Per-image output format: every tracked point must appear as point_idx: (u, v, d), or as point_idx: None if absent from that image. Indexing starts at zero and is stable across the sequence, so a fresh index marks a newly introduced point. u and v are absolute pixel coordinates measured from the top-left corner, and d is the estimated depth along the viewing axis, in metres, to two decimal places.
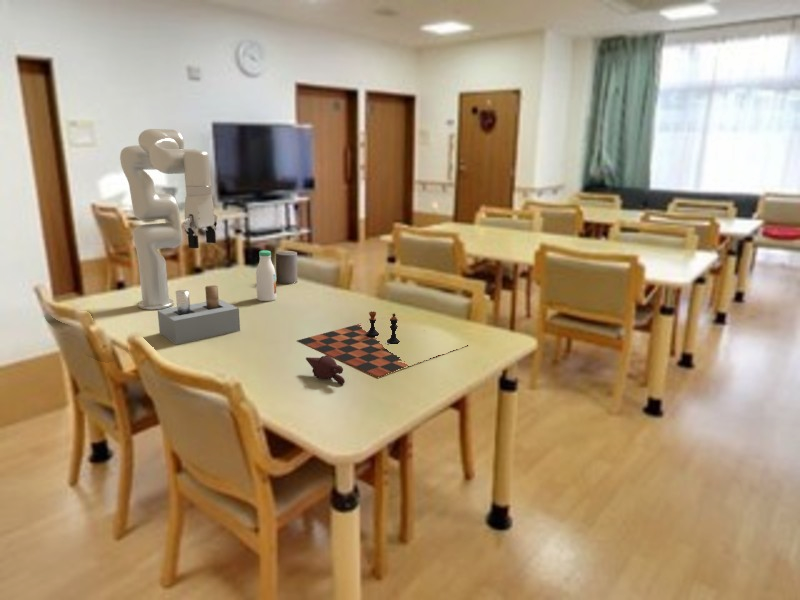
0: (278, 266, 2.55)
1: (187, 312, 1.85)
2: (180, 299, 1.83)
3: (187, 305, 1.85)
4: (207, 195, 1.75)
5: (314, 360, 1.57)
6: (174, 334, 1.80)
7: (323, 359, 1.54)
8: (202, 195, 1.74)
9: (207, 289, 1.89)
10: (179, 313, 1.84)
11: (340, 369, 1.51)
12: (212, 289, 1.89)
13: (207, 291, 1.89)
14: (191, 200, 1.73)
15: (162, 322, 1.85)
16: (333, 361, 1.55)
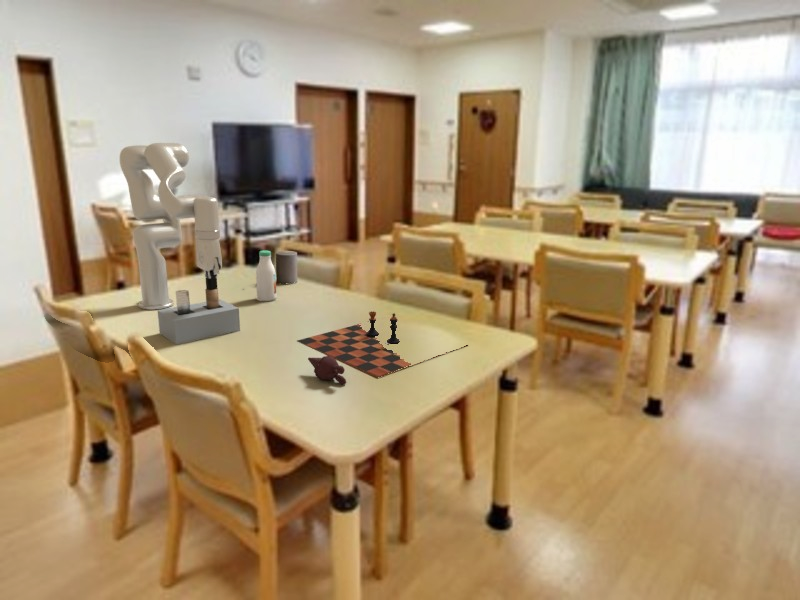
0: (278, 266, 2.55)
1: (187, 312, 1.85)
2: (180, 299, 1.83)
3: (187, 305, 1.85)
4: None
5: (316, 360, 1.57)
6: (174, 334, 1.80)
7: (325, 359, 1.54)
8: (219, 238, 1.86)
9: (207, 291, 1.89)
10: (179, 313, 1.84)
11: (341, 369, 1.51)
12: (212, 291, 1.89)
13: (207, 293, 1.90)
14: (215, 244, 1.83)
15: (162, 322, 1.85)
16: (335, 361, 1.55)
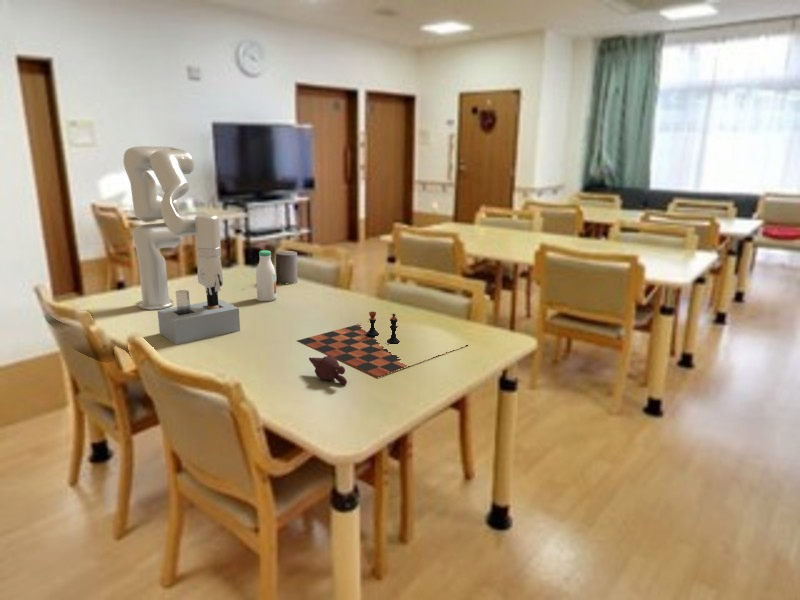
0: (278, 266, 2.55)
1: (187, 312, 1.85)
2: (180, 299, 1.83)
3: (187, 305, 1.85)
4: None
5: (317, 360, 1.57)
6: (174, 334, 1.80)
7: (325, 359, 1.54)
8: (220, 255, 1.88)
9: (208, 307, 1.91)
10: (179, 313, 1.84)
11: (342, 369, 1.51)
12: (213, 307, 1.91)
13: (208, 309, 1.91)
14: (216, 261, 1.85)
15: (162, 322, 1.85)
16: (335, 361, 1.55)
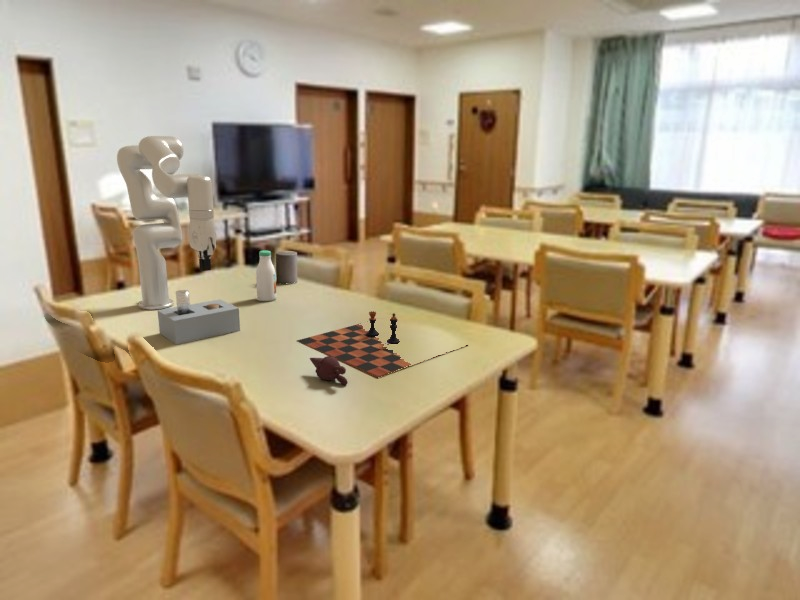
0: (278, 266, 2.55)
1: (187, 312, 1.85)
2: (180, 299, 1.83)
3: (187, 305, 1.85)
4: None
5: (318, 360, 1.57)
6: (174, 334, 1.80)
7: (326, 359, 1.54)
8: (213, 218, 1.83)
9: (208, 308, 1.91)
10: (179, 313, 1.84)
11: (343, 370, 1.51)
12: (213, 308, 1.91)
13: None
14: (209, 223, 1.81)
15: (162, 322, 1.85)
16: (336, 362, 1.55)
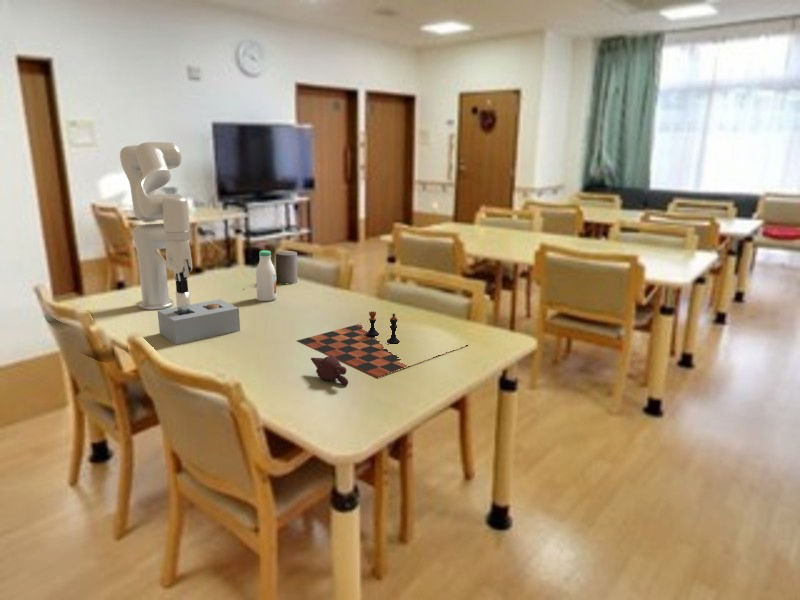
0: (278, 266, 2.55)
1: (187, 312, 1.85)
2: (180, 299, 1.83)
3: (187, 306, 1.85)
4: None
5: (318, 360, 1.57)
6: (174, 334, 1.80)
7: (327, 360, 1.54)
8: (189, 239, 1.80)
9: (208, 308, 1.91)
10: (179, 313, 1.84)
11: (343, 370, 1.51)
12: (213, 308, 1.91)
13: None
14: (184, 245, 1.77)
15: (162, 322, 1.85)
16: (337, 362, 1.55)
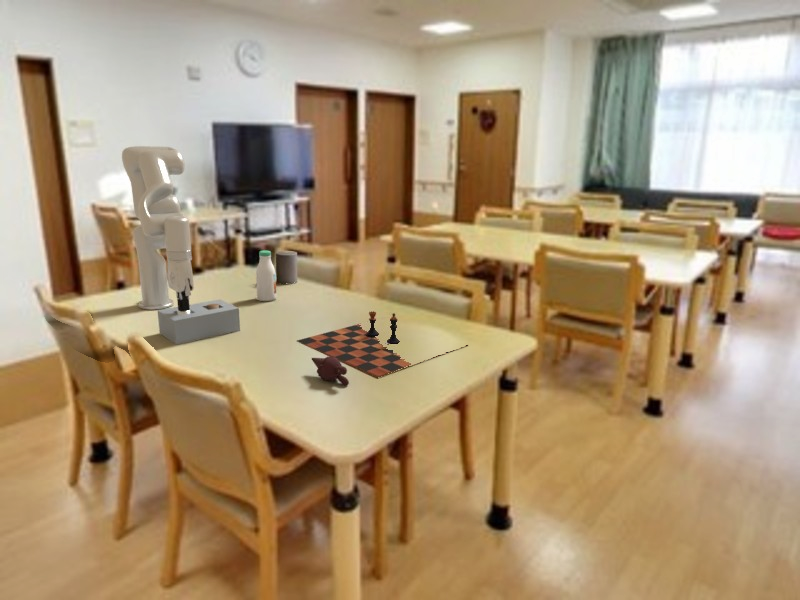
0: (278, 266, 2.55)
1: None
2: None
3: None
4: None
5: (319, 360, 1.57)
6: (174, 334, 1.80)
7: (328, 360, 1.54)
8: (191, 258, 1.81)
9: (208, 308, 1.91)
10: None
11: (344, 370, 1.50)
12: (213, 308, 1.91)
13: None
14: (186, 264, 1.78)
15: (162, 322, 1.85)
16: (338, 362, 1.55)
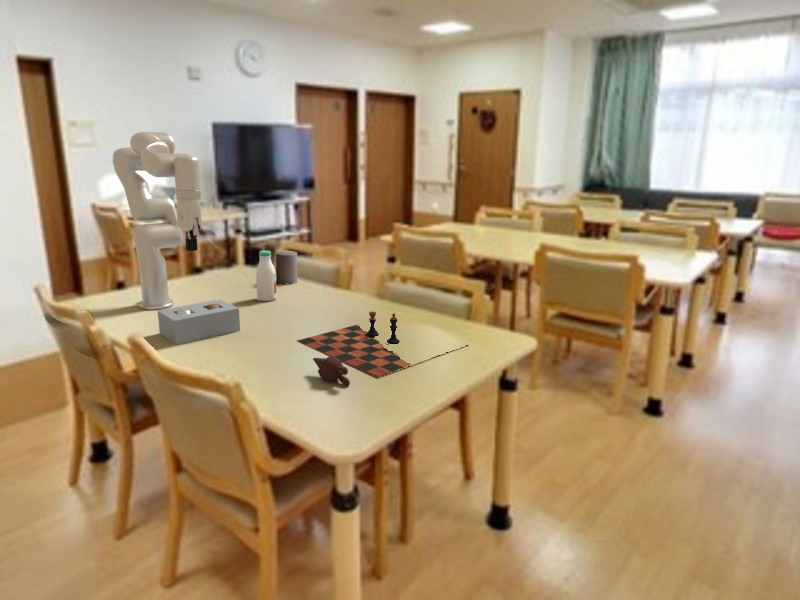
0: (278, 266, 2.55)
1: None
2: None
3: None
4: None
5: (320, 361, 1.57)
6: (174, 334, 1.80)
7: (329, 360, 1.54)
8: (200, 198, 1.84)
9: (208, 308, 1.91)
10: None
11: (345, 370, 1.50)
12: (213, 308, 1.91)
13: None
14: (194, 204, 1.81)
15: (162, 322, 1.85)
16: (339, 362, 1.55)
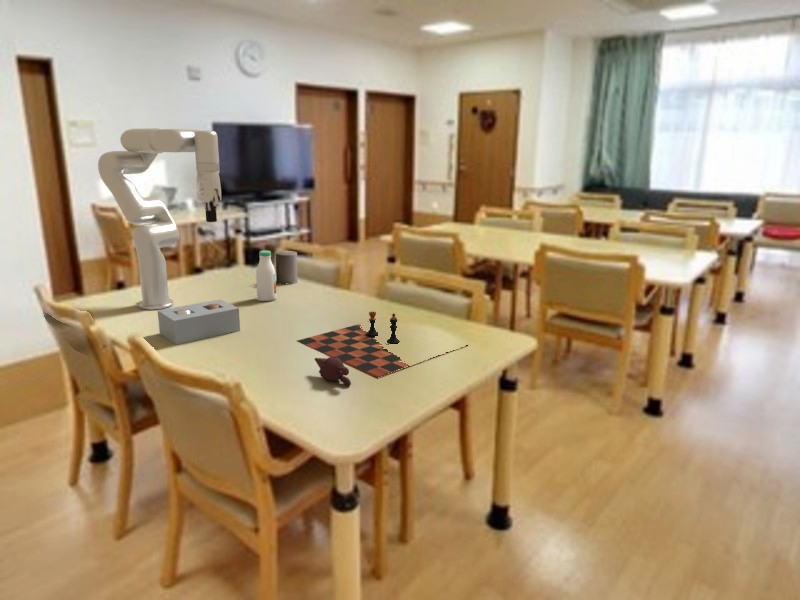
0: (278, 266, 2.55)
1: None
2: None
3: None
4: None
5: (322, 361, 1.57)
6: (174, 334, 1.80)
7: (330, 360, 1.54)
8: (219, 171, 1.94)
9: (208, 308, 1.91)
10: None
11: (346, 371, 1.50)
12: (213, 308, 1.91)
13: None
14: (214, 175, 1.91)
15: (162, 322, 1.85)
16: (340, 362, 1.54)
